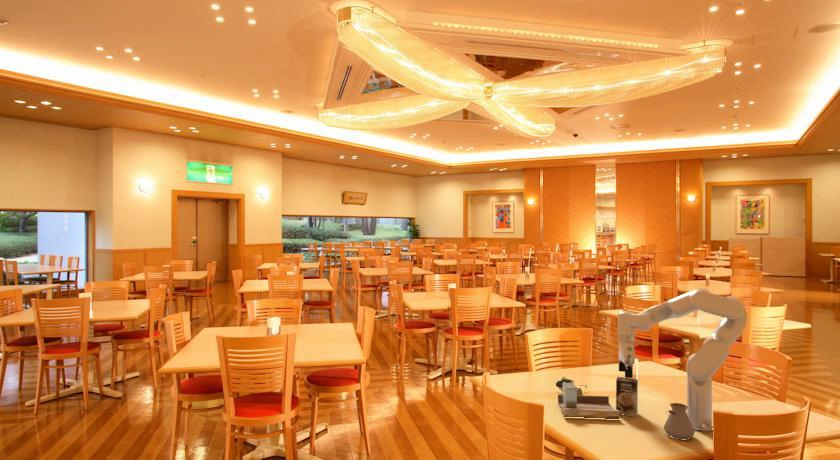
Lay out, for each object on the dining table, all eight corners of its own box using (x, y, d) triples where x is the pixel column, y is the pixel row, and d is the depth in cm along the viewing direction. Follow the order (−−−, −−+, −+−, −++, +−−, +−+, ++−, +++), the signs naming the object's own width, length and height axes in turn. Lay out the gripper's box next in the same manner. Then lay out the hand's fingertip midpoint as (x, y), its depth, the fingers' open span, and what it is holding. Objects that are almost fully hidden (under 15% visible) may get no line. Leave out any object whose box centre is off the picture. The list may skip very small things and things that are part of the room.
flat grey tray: (619, 420, 222) (619, 409, 222) (564, 419, 225) (564, 408, 225) (608, 406, 241) (608, 396, 241) (557, 404, 243) (557, 394, 243)
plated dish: (588, 406, 243) (588, 391, 243) (534, 396, 259) (533, 382, 259) (606, 387, 272) (606, 374, 272) (556, 380, 288) (556, 367, 288)
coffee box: (615, 414, 230) (615, 379, 230) (617, 410, 236) (617, 376, 236) (637, 417, 226) (636, 382, 226) (638, 413, 232) (637, 378, 232)
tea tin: (577, 410, 230) (576, 388, 230) (565, 410, 230) (565, 387, 230) (573, 404, 238) (573, 382, 238) (562, 404, 239) (562, 382, 239)
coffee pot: (667, 428, 214) (667, 393, 214) (697, 435, 206) (697, 399, 206) (653, 445, 198) (652, 407, 198) (684, 453, 190) (684, 414, 190)
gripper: (640, 342, 222) (639, 380, 222) (628, 334, 239) (628, 369, 239) (623, 342, 223) (622, 379, 223) (612, 333, 240) (612, 368, 240)
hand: (625, 374), depth 231 cm, fingers open, 9 cm apart
